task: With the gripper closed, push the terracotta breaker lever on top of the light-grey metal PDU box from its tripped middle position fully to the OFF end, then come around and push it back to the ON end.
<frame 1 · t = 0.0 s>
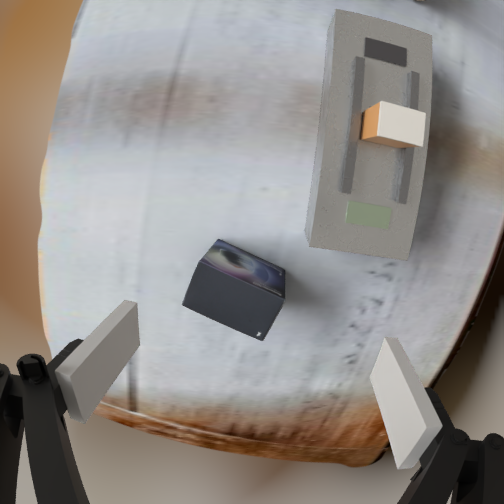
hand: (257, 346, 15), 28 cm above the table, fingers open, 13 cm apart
breaker lever: (391, 126, 26), point 12 cm above the table, slide at 5.0 cm
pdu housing: (362, 134, 37), on the table
small box: (243, 271, 45), on the table
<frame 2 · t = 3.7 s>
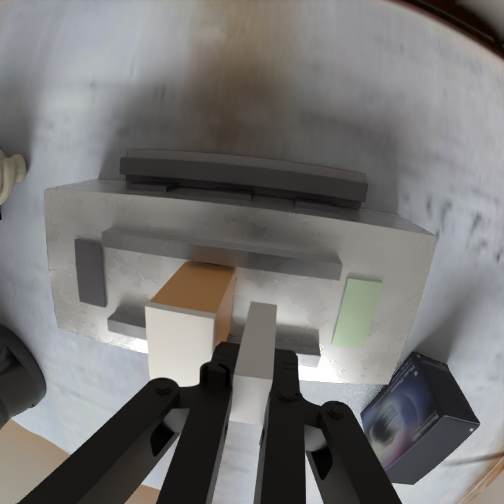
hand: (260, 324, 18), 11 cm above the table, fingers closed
breaker lever: (195, 320, 17), point 12 cm above the table, slide at 4.7 cm, touching gripper
decorative object: (11, 172, 28), on the table
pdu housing: (232, 257, 28), on the table
small box: (402, 389, 31), on the table
grooved gray rail: (241, 173, 26), resting on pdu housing
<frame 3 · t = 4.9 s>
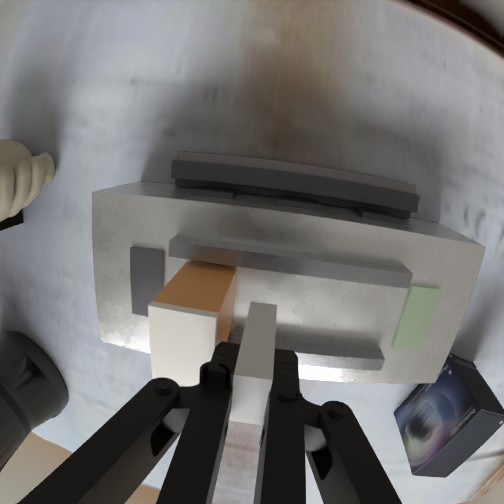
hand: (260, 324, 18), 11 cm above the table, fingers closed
breaker lever: (197, 319, 17), point 12 cm above the table, slide at 0.0 cm, touching gripper
decorative object: (36, 172, 28), on the table
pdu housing: (285, 264, 28), on the table
small box: (432, 388, 31), on the table
grooved gray rail: (297, 180, 26), resting on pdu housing
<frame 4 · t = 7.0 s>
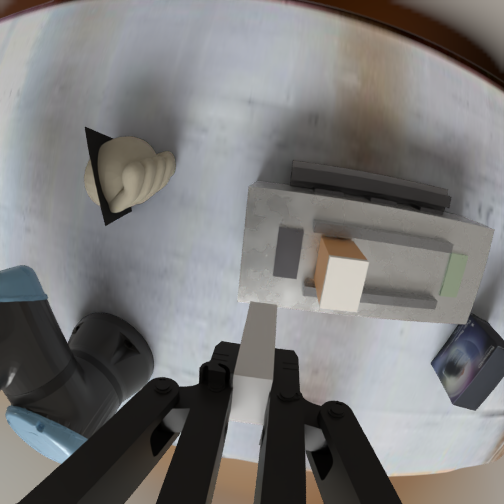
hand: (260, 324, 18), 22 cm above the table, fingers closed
breaker lever: (338, 271, 27), point 12 cm above the table, slide at 0.0 cm
decorative object: (149, 167, 38), on the table
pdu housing: (362, 244, 38), on the table
small box: (459, 342, 41), on the table
grooved gray rail: (372, 185, 36), resting on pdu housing
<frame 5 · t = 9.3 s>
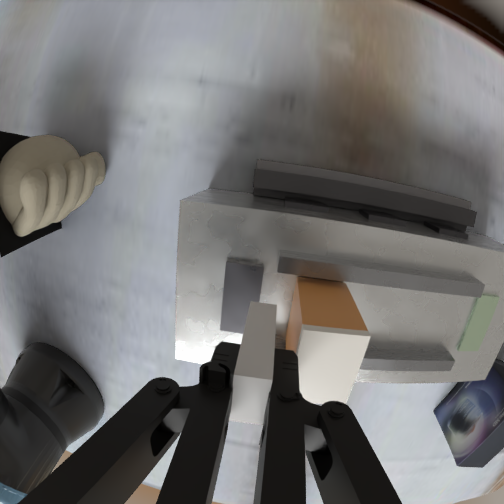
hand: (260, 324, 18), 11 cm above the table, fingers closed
breaker lever: (320, 336, 17), point 12 cm above the table, slide at 0.4 cm, touching gripper
decorative object: (79, 173, 28), on the table
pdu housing: (354, 275, 28), on the table
small box: (468, 385, 31), on the table
grooved gray rail: (370, 194, 26), resting on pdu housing
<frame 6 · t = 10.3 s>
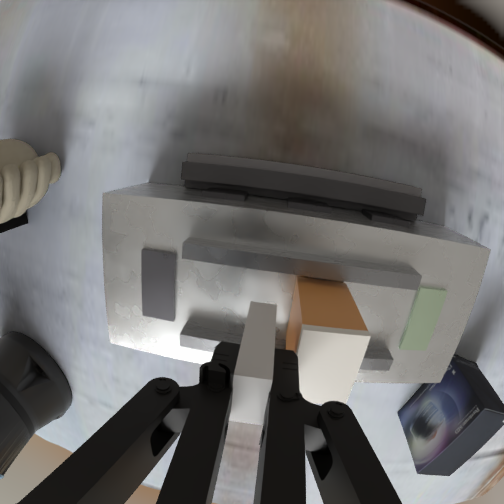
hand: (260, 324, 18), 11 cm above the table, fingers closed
breaker lever: (320, 336, 17), point 12 cm above the table, slide at 6.2 cm, touching gripper
decorative object: (41, 172, 28), on the table
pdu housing: (293, 266, 28), on the table
small box: (436, 387, 31), on the table
grooved gray rail: (306, 183, 26), resting on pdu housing
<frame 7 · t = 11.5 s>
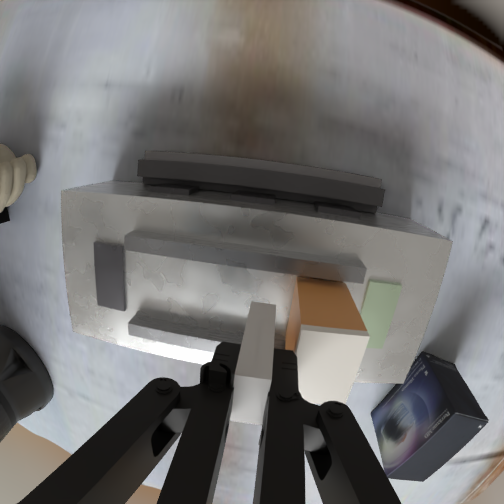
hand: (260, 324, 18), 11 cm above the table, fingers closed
breaker lever: (319, 336, 17), point 12 cm above the table, slide at 10.1 cm, touching gripper
decorative object: (20, 172, 28), on the table
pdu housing: (250, 260, 28), on the table
small box: (411, 388, 31), on the table
grooved gray rail: (260, 176, 26), resting on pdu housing
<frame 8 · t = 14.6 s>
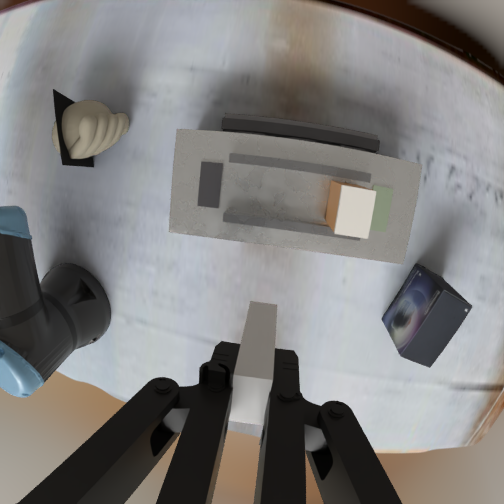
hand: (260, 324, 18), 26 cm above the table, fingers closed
breaker lever: (348, 207, 30), point 12 cm above the table, slide at 10.0 cm
decorative object: (109, 129, 41), on the table
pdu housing: (294, 188, 41), on the table
small box: (411, 297, 44), on the table
grooved gray rail: (301, 133, 39), resting on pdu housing
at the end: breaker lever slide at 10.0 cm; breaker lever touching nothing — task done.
